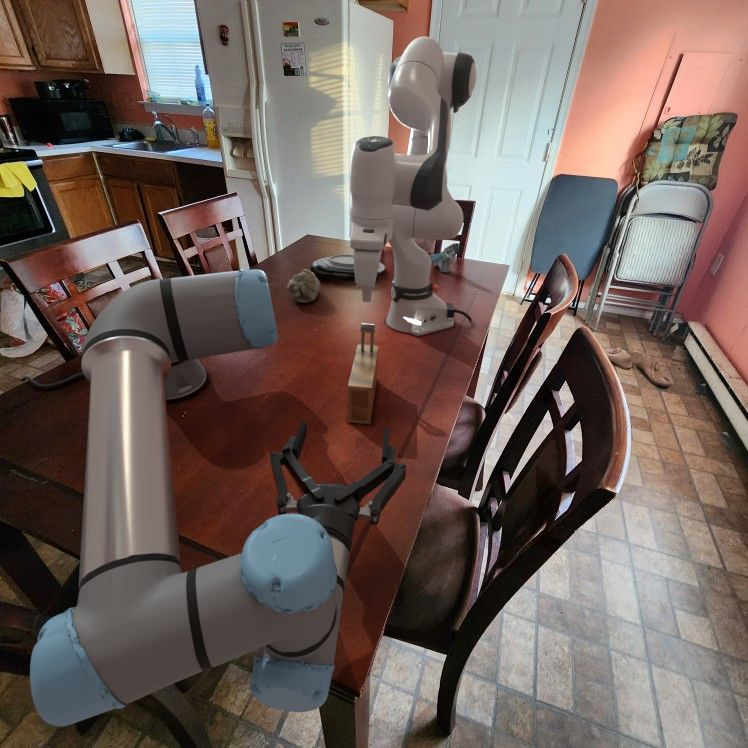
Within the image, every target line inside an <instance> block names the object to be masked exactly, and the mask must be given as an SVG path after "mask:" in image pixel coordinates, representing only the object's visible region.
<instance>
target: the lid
mask: <svg viewBox="0 0 748 748" xmlns="http://www.w3.org/2000/svg"><path fill="white" fill-rule="evenodd" d="M375 329H376V324H375V323H364V322H361V323H360V333H361V337H360V339H361V340H360V343H358V344H357V347H356V351H355V354H354V359H353V363H352V366H351V371H350V376H349V380H348V384H347V390H348V389H356V390H368V391H372V386H373V380H374V374H375V367H376V361H377V355H378V356H379V349H380V348H379V345H375V344H374V338H375V331H376V330H375ZM365 333H366V334H370V342H369V344H365V338H366V337H365Z"/></svg>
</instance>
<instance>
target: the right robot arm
mask: <svg viewBox="0 0 748 748" xmlns="http://www.w3.org/2000/svg"><path fill="white" fill-rule="evenodd" d="M387 80H388V81H387V82H388V94H387V95H388V96H387V98H388V99H387V100H388V105H389V108H390V111H391V113H392V115H393V116H394V117H395V119H396V121H398V122H399V123H400V124H401V125H402V126H404V127H406V128H408V129H410V130H411V131H410V137H409V142H408V149H407V154H400V153H396V147H395V143H394V141H393V140H392V139H390V138H388V137H386V136H380V135H371V136H363V137H361V138H359V139H358V140H356V141H355V142H354V144H353V146H352V147H353V148H352V153H351V160H350V170H349V171H350V172H349V193H350V196H351V204H350V208H349V238H350V241H349V242H350V249H353V255H354V271H355V282H354V283H355V286H356V288H357V289H361V294H362V298H361V299H362V302H364V303H370V302H371V301H372V290H373V289H375V286H376V282H377V281H376V276H377V272H378V268H379V263H381V258H382V253H383V251H384V249H385V247H386V245H387V244H389V245H390V248H391V250H392V255H393V261H394V262H393V265H394V269H393V271H394V273H393V279H392V281H391V282H392V283H391V289H390V292H391V293H390V294H391V295H390V297H391V301H390V307H389V310H388V314H387V316H386V318H385V323H386V324H387V326H388V327H389V328H391V329H393V330H395V331H397V332H402V333H408V334H411V335H413V336H417V337H420V336H423V335H428V334H431V333H435V332H438V331H443V330H445V329H450V328H453V327H454V326H455V319H454V318H455V313H457V314H460V315H462V316H464V317H465V318H466V319H467V320H468V321H469V322H472V321H473V318H472V317H471V316H470V315H469V314H468V313H467V312H465V311H463V310H460V309H457V308H454V305H453V304H452V303H451V302H445V301H444V300H443V299H442V298H441V297H440V296H438V295H437V294H438V293H439V292H440V290H441V289H440V286H438V285H437V284H434V283H433V281H431V280H430V278H431V270H432V263H431V257H430V254H429V253H428V252H427V251H425V250H424V249H423V248H421V247H420V246H419V245H418V244H417V242H416V241H415V239H422V240H430V241H448V240H453V239H455V238H456V237H457V236H458V235H459V233H460V232H461V230H462V229H463V225H464V212H463V209H462V207H461V205H460V204H459V203H458V202H457V201H456V200H455V199H454V197H453V196H452V195H451V193H450V191H449V188H448V169H447V162H448V155H449V150H450V149H449V148H450V143H451V135H452V134H451V133H452V110H453V114H456V113H458V112H459V109H460V108H461V107H463V106H465V105H466V103H467V102H468V101H469V100H470V98H471V97H472V94H473V91H474V89H475V86H476V82H477V69H476V62H475V60H474V57H473V55H470V54H468V53H465V52H460V51H459V52H458V53H456V52H455V53H454V52H448V51H447V52H446V51H443V48H442V47H441V45H440V43H438V41H436V40H435V39H434V38H432V37H430V36H419V37H416V38H415V39H413V40H412V41H411V42H410V43H409V44H408V45H407V47H406V48H405V49H404V51H403V53H402V55H400V56H398V57H396V58H395V59H394V60H393V62H392V63H391V64H390V67H389V72H388V79H387ZM452 108H453V109H452ZM436 293H437V294H436Z"/></svg>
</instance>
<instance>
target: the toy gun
mask: <svg viewBox="0 0 748 748" xmlns="http://www.w3.org/2000/svg"><path fill="white" fill-rule="evenodd" d="M459 248H460V244H459V243H458V242H455V243H451V244H450V245H448V246H447V247H445V248H443V250H442V251H439V252H438V253H432V254H429V256H430V258H431V264H432V265H433V267H438V268H439V270H440V273H449V272H450V264H451V263H454V262H455V261H456V257H457V255H458V254H459V253H460V249H459Z"/></svg>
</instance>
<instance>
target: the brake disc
mask: <svg viewBox="0 0 748 748" xmlns="http://www.w3.org/2000/svg"><path fill="white" fill-rule="evenodd" d="M385 269H386V266H385V265H384V264H383V263H381V262H380V263H379V268H378V272H377V276H376V281H375V282H378V281H379V274H380V273H383V272H384V271H385ZM310 271H311V272H313V273H314V274H315V277H316V278H317V279H322V278H323V279H327V280H332V281H333V280H334V281H339V282H340V281H341V282H354V283H356V282H355V271H354V254H335V255H332V256H330V257H329V256H328V257H323V258H319V259H316V260H314V261H313V263H312V265H310Z"/></svg>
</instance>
